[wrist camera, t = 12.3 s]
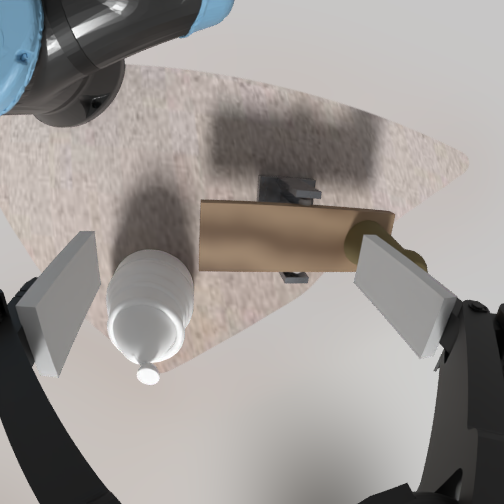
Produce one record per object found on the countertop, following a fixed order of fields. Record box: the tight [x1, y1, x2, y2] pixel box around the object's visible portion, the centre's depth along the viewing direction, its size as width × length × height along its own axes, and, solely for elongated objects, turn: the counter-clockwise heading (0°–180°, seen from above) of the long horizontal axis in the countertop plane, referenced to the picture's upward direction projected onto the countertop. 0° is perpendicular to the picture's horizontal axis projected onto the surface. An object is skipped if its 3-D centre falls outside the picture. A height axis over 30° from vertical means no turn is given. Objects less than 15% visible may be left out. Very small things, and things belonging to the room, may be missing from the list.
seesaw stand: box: [257, 175, 322, 283], centre depth 42 cm, size 12×8×10 cm
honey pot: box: [106, 249, 194, 385], centre depth 40 cm, size 13×13×18 cm
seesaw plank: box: [199, 198, 395, 274], centre depth 38 cm, size 9×24×2 cm, turn 85°
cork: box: [344, 220, 428, 273], centre depth 34 cm, size 6×6×11 cm
